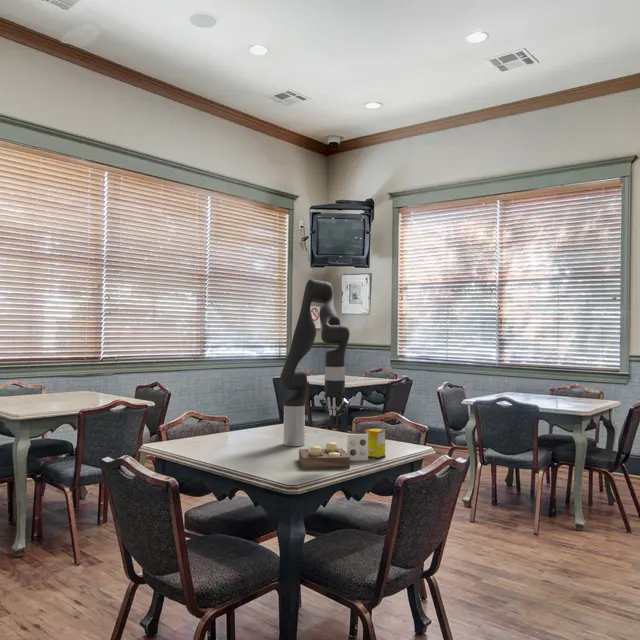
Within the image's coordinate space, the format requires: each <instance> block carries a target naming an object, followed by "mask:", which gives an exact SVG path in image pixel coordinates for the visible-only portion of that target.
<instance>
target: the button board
mask: <svg viewBox="0 0 640 640" xmlns="http://www.w3.org/2000/svg"><path fill="white" fill-rule="evenodd" d="M309 449H310V448H299V449H298V461H299V460H300V461H299V463H300V465H301V467H302V470H329V469H330V470H337V469H338V468H348V469H351V465H350V464H351V463H350V462H351V461H350V457H349V456H348V455H347V451H345V450H344V449H343V448H337V453H340V456H329V453H328V452H326V448H321V456H316V457H312V456H310V453H308V450H309ZM330 453H331V452H330ZM333 468H334V469H333ZM336 468H337V469H336Z"/></svg>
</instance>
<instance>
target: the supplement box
mask: <svg viewBox="0 0 640 640" xmlns="http://www.w3.org/2000/svg"><path fill="white" fill-rule="evenodd" d="M364 434H368V457H369V458H368V459H372V458H375V459H374V460H378V459H379V458H380V459H383V458H386V429H385V428H384V429H382V428H373V427H372V428H369V429H365V431H364Z"/></svg>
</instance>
